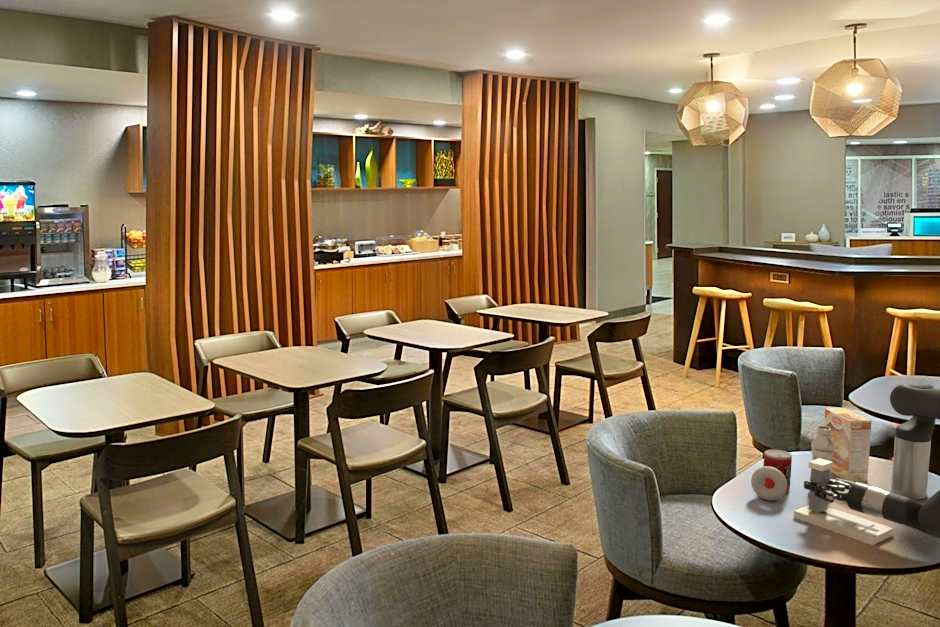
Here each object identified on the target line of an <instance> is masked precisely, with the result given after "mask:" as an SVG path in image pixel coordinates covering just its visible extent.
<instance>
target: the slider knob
mask: <svg viewBox="0 0 940 627" xmlns="http://www.w3.org/2000/svg"><path fill="white" fill-rule="evenodd" d="M808 468H810V476H811V481H810V482H814V483H817V484H821V485H827V484H829V474H830V468H833V462H831V461H828V460H824V459H821V458H818V459H815V460H810V461H808ZM823 489H825V488H823ZM808 501H809V502H808V505H809V510H811V511H814V512H817V513H821V512H823V511H825V510H827V507H828V503H829V502H828V501H826V500H823V499H821V498H819V497H816V496H815V492H814V491H811V490H809V499H808Z"/></svg>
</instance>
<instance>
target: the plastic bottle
mask: <svg viewBox="0 0 940 627" xmlns="http://www.w3.org/2000/svg"><path fill="white" fill-rule="evenodd" d="M816 434H817V435H816V436H815V437H814V438H813V440H812V442H811V445H810V446H811V455H812V458H811V459H812V460H815V459H818V458H821V459H824V460H828V461H831V462H832V458H833V454H834V450H835V445H834V442H833V440H832V439H831V438H830V435H831V428H829V427H826V426H824V425H819V426H817V430H816ZM812 460H811V461H812ZM830 479H832V472H831V468H830V474H829V480H830ZM808 481H811V475H810V476H809V480H808ZM829 491H831V489H830V488H829Z"/></svg>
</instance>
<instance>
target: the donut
mask: <svg viewBox="0 0 940 627" xmlns="http://www.w3.org/2000/svg"><path fill="white" fill-rule="evenodd" d="M765 478H770V479H772V480H773V481H774V483H775V486H774V488H772V489H769V488H766V487H765V486H764V484H763V480H764V479H765ZM750 479H751V480H750V484H751V488H752V491H754V493H755V494H756V495H757V496H758V497H759V498H761V499H763V500H766V501H776V500H779V499H780V498H782V497H783V496H785V494H786V493H787V492H786V489H787V481H786V478H785V476H784V475H783V474H782V472H781V471H779V470H778V469H776V468H774V467H770V466H764V465H763V466H762V467H758V468H757V469H756V470H755V471H754V472H753V473H752V475H751V478H750Z"/></svg>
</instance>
